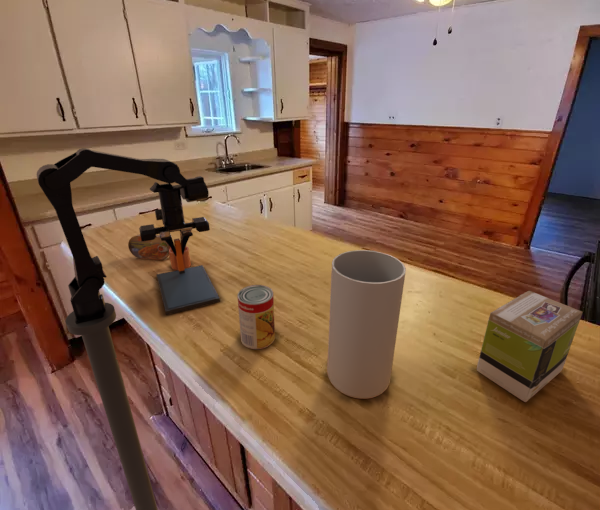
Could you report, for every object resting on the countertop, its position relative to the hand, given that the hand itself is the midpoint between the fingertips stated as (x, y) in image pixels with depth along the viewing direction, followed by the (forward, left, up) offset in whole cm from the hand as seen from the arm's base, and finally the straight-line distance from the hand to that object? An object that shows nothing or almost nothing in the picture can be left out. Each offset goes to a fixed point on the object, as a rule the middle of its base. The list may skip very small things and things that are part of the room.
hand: (179, 254), depth 101 cm
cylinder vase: (+25, -57, -8) cm, 63 cm away
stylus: (0, 0, -6) cm, 6 cm away
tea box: (+55, -71, -8) cm, 90 cm away
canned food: (+11, -37, -8) cm, 39 cm away
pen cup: (+1, +9, -8) cm, 12 cm away
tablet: (0, -7, -8) cm, 11 cm away
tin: (-7, +20, -8) cm, 23 cm away
